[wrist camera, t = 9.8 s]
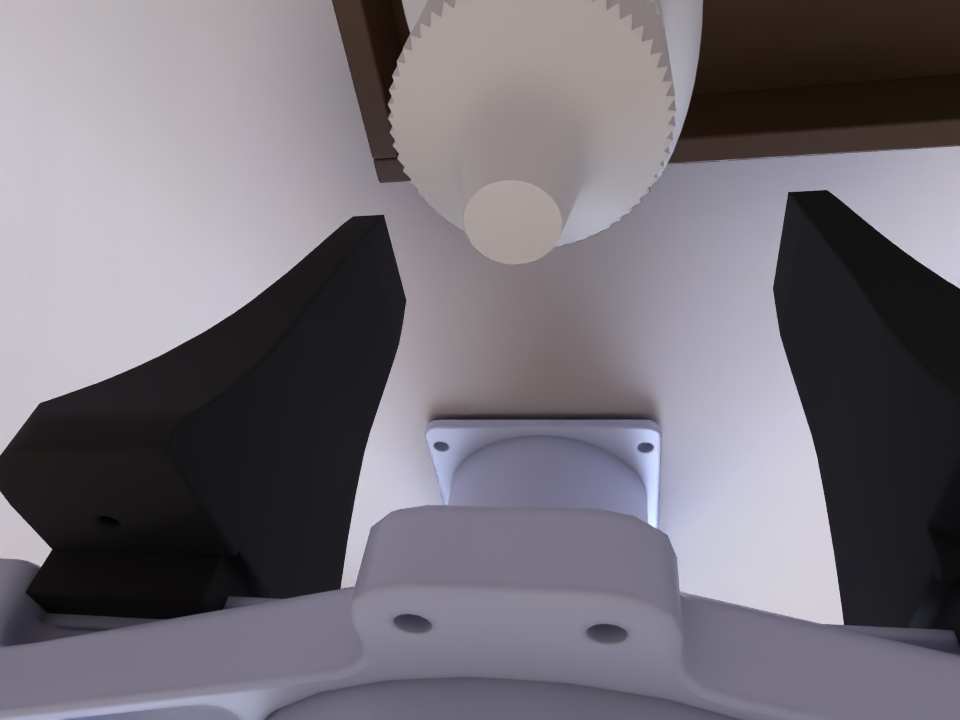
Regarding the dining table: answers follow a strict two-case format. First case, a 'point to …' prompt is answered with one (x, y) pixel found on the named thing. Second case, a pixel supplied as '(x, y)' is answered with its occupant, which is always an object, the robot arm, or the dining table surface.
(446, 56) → the eye dropper bottle
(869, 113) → the tray
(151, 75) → the dining table surface
